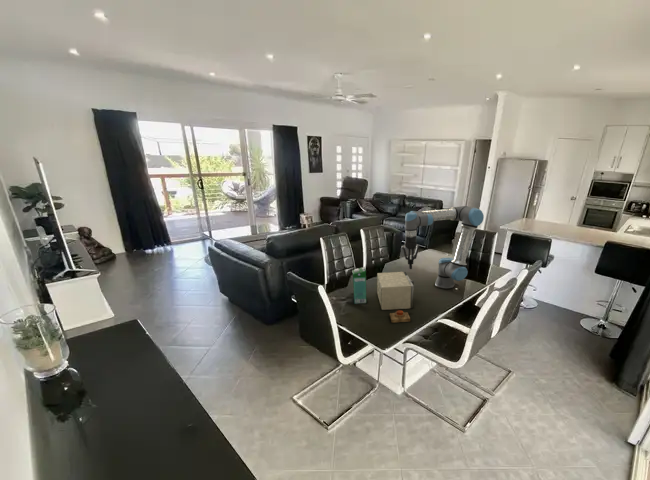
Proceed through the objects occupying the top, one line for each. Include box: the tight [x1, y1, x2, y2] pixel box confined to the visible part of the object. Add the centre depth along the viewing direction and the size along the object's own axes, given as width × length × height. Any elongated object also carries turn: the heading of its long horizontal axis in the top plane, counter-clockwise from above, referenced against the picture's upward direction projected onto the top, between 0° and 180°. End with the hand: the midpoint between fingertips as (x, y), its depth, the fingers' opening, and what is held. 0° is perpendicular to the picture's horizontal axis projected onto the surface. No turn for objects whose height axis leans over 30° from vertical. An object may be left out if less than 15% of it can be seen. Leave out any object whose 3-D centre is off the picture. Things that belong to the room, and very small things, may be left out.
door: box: [406, 274, 415, 309], centre depth 230 cm, size 5×21×17 cm, turn 6°
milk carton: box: [352, 266, 368, 305], centre depth 231 cm, size 9×9×25 cm
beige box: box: [376, 271, 411, 311], centre depth 232 cm, size 22×28×17 cm
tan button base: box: [389, 311, 411, 324], centre depth 209 cm, size 12×9×4 cm
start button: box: [396, 309, 404, 315], centre depth 208 cm, size 4×4×2 cm
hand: (410, 268), depth 227 cm, fingers closed
